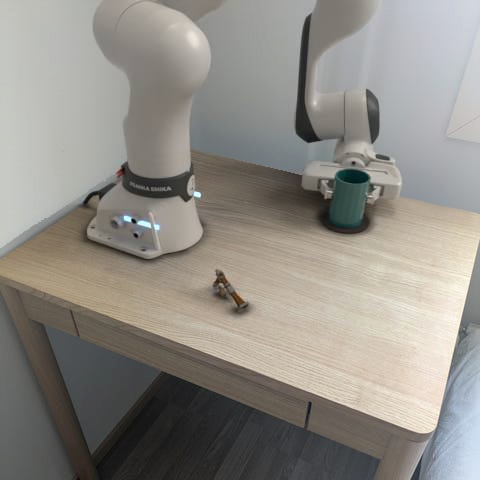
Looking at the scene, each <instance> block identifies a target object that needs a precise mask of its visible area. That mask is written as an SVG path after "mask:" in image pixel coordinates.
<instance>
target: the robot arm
mask: <svg viewBox="0 0 480 480" xmlns="http://www.w3.org/2000/svg"><path fill="white" fill-rule="evenodd" d="M227 1H228V0H102V1H101V2H100V3H99V5H98V6H97V7H96V9H95V11H94V13H93V16H92V17H93V18H92V33H93V34H92V35H93V37H94V41H95V43H96V45H97V46H98V48H99V50H100V52H101V53H102V55H103V56H104V57H105V59H106V60H107V61H108V62H109V63H110V64H111V65H112V66H114V67H115V68H116V69H119V70H120V72H123V73H124V74H125V75H126V78H127V81H128V87H129V95H128V96H129V97H128V98H129V99H128V108H127V113H126V114H125V116H124V117H123V120H122V131H123V138H124V145H125V152H126V161H125V162H124V163H122V164H121V165H120V168H119V169H118V170H117V171H116V172H115V175H116V179H120V177H122V179H121V181H119V182H118V183H115V182H111V183H109V184H107V185H105V186H104V187H102V188H100V189H99V190H94V191H92V192H89V193H88V194H87V195H86V197H85V198H84V200H83V202H82V204H83V205H85V206H86V205H88V204H89V202H90V201H91V200H92V198H93V197H95V196H98V200H99V202H98V204H97V207H96V215H95V216H94V217H93V219H92V220H91V221H90V222H89V224H88V226H87V228H86V237H87V239H89V240H90V241H93V242H96V243H98V244H101V245H105V246H108V247H111V248H113V249H116V250H119V251H122V252H125V253H128V254H130V255H133V256H136V257H139V258H141V259H145V260H152V259H155V258H157V257H160V256H162V255H165V254H171V253H177V252H180V251H183V250H186V249H189V248H191V247H192V246H194V245H196V244H197V243H198V242H199V241H200V240H201V239H202V237H203V234H204V228H203V226H202V224H201V220H200V218H199V214H198V211H197V205H196V200H195V197H197V198H201V192H198V191H195V190H196V177H195V171H194V169H195V168H194V163H193V161H192V158H191V136H190V134H191V133H190V123H191V122H190V120H191V113H192V106H193V102H194V97H195V95H196V92H197V90H198V89H200V88H201V87H202V85H203V84H204V83H205V81H206V79H207V77H208V75H209V72H210V69H211V63H212V52H211V47H210V43H209V41H208V38H207V36H206V35H205V34H204V32H203V31H202V30H201V29H200V28H199V27H198V25H197V24H195V23H197V22H198V21H200V19H202V18H203V17H205V16H206V15H208V14H210V13H212V12H214V11H216V10H218V9H220V8H221V7H222V6H224V5H225V3H227ZM379 2H380V0H316V2H315V5H314V7H313V10H312V11H311V13H309V14H308V15H307V16H305V19H304V21H303V25H302V30H301V38H300V47H299V48H300V49H299V62H298V75H297V76H298V77H297V78H298V79H297V92H296V93H297V95H296V103H295V106H294V111H293V129H294V131H295V135H296V136H297V137H299V138H300V139H301V140H302V141H304V142H305V143H306V144H312V143H318V142H323V141H328V140H329V141H331V140H336V143H335V145H334V150H333V156H332V157H333V158H332V162H331V161H323V160H312V161H309V162H308V163H305V164H304V165H303V167H302V171H303V172H302V176H301V187H302V189H304V190H306V191H313V192H320V193H321V194H322V195H323V196H324V197H323V198H324V200H331V199H332V193H333V185H334V178H335V174H336V172H337V171H339V170H342V169H358V170H362V171H364V172H366V173H368V174H369V175H370V177H371V180H370V185H369V190H368V195H367V199H366V204H368V205H374V203H375V201H376V200H378V199H384V200H390V201H391V200H395V201H396V200H397V199H398V198H399V197H400V194H401V191H402V186H403V178H402V175H401V172H400V170H399V168H398V167H397V166H396V159H395V158H394V157H390V156H387V155H384V154H380V153H378V152H375V151H374V143H375V142H376V140H377V139H378V137H379V135H380V127H381V126H380V125H381V123H380V121H381V119H380V117H381V114H380V104H379V99H378V98H377V96H376V95H375V94H374V92H372V91H371V90H370V89H369V88H360V89H359V88H358V89H349V90H343V91H336V92H335V91H334V92H325V93H322V92H319V91H317V82H318V73H319V64H320V63H319V62H320V59H321V57H322V56H323V55H324V54H325V53H326V52H327V51H328V50H330V49H331V48H332V47H334V46H335V45H337V44H339V43H341V42H343V41H345V40H346V39H349V38H350V37H352V36H354V35H355V34H357V33H358V32H359V31H360V30H361V31H362V29H363V28H364V27H365V26H366V25H367V24H368V23H369V22H370V21H371V19H372V18H373V17H374V15H375V13H376V11H377V9H378V7H379ZM366 204H365V205H366Z"/></svg>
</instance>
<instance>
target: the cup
mask: <svg viewBox="0 0 480 480" xmlns="http://www.w3.org/2000/svg"><path fill="white" fill-rule="evenodd" d="M370 180H371V177H370V175H369V174H368V173H366V172H364V171H362V170H358V169H342V170H339V171H337V172H336V174H335V178H334V185H333V193H332V199H330V205H329V209H330V210H329V221H330V222H331V223H332V224H334V225H336V226H338V227H342V228H354V227H357V226H359V225H360V224H361V222H362V218H363V214H365V208H366V199H367V195H368V190H369V185H370Z"/></svg>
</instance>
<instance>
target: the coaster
mask: <svg viewBox="0 0 480 480" xmlns="http://www.w3.org/2000/svg"><path fill="white" fill-rule="evenodd" d="M329 210H330V208H328V209H325V211H323V212H322V213H321V215H320V222H321V224H322V225H323V226H324V227H325V228H327V229H328V230H330V231H333V232H335V233H339V234H345V235H346V234H347V235H350V234H351V235H353V234H359V233H362V232H364V231H366V230H367V229H368V228H369V227H370V224H371V223H370V222H371V221H370V218H369V217H368V216H367V215H366V214H365V213H364V214H363V218H362V222H361V224H360V225H359V226H357V227H354V228H342V227H338V226H336V225H334V224H332V223H331V222H330V221H329Z"/></svg>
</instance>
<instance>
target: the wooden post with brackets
mask: <svg viewBox="0 0 480 480" xmlns="http://www.w3.org/2000/svg"><path fill="white" fill-rule="evenodd" d="M214 272H215V274H214V276H216V278H215V280H214V281H213V283H212V287H213V288H214V289H216V288H217V290H218V294H220V295H221V298H224V299H227V298H228V297H229V296H230V297H231V298H232V299H233V301H234V303H235V305H236V307H237V313H240V312H242V311H244V310H246V309H247V308H248V306H249V305H250V302H249V300H247V301H245V300H244V299H243V298H242V297H241V296H240V295H239V294H238V293H237V292H236V289H235V288H234V286H233V284H232V283H231V282H229V281H228V279H227V278H226V274H225V273H224V271H223V270H222V269H218V268H216V269H215V271H214ZM220 284H222V285H223V287H222V285H220Z"/></svg>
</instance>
